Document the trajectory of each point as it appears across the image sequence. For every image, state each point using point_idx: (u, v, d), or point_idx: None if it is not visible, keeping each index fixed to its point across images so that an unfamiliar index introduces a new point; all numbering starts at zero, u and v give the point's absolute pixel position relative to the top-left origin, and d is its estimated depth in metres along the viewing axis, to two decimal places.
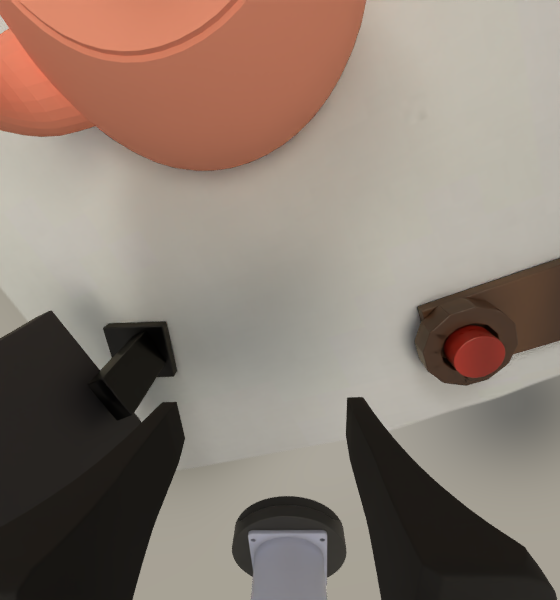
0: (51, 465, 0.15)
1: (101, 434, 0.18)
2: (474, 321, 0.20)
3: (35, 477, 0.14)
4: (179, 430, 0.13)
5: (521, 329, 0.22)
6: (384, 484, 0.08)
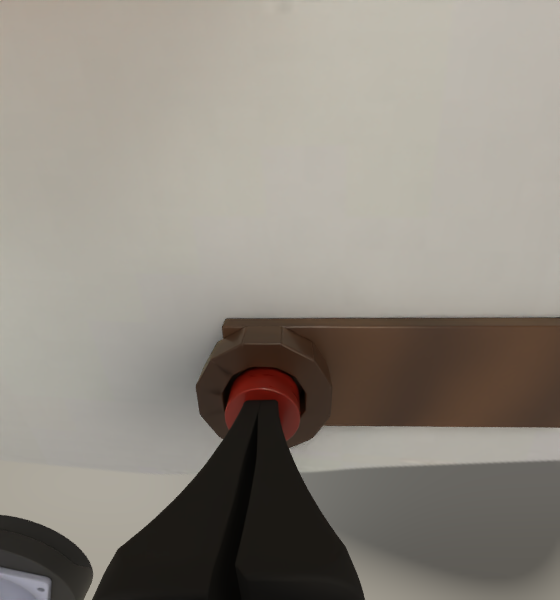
0: None
1: None
2: (276, 365, 0.13)
3: None
4: None
5: (350, 396, 0.16)
6: (252, 486, 0.08)
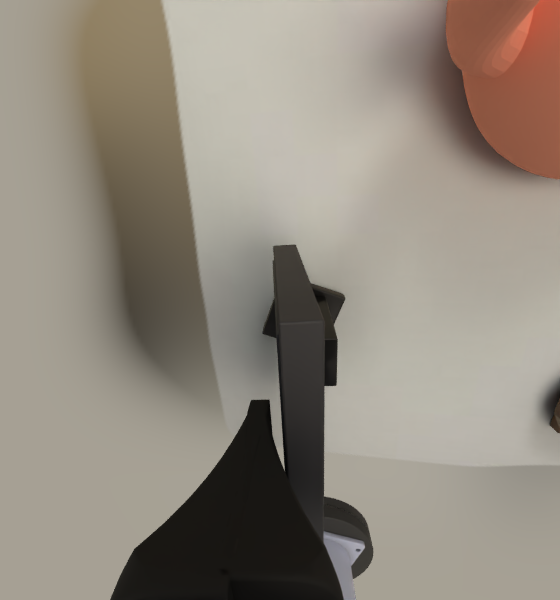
0: None
1: None
2: None
3: None
4: (270, 428, 0.13)
5: None
6: (237, 486, 0.08)
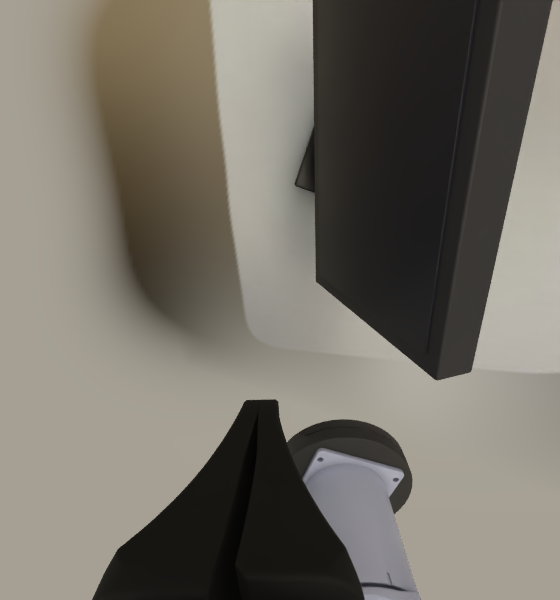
0: None
1: None
2: None
3: None
4: None
5: None
6: (252, 486, 0.08)
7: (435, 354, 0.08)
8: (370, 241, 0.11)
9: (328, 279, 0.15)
